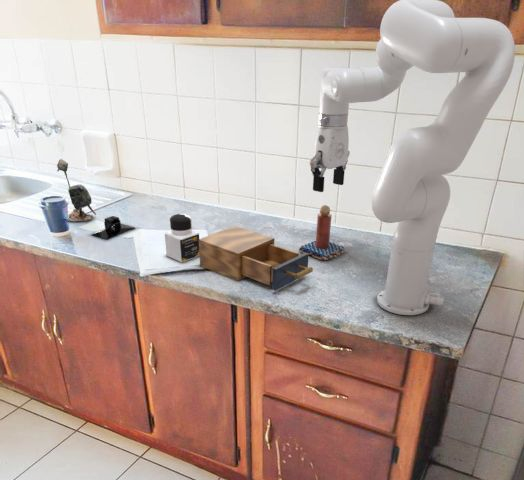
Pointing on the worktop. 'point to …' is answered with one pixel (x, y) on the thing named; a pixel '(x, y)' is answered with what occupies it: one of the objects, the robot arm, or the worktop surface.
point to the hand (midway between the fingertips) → (328, 187)
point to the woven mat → (322, 250)
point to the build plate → (112, 228)
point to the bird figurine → (77, 197)
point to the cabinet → (229, 250)
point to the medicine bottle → (182, 239)
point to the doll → (323, 227)
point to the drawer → (274, 265)
